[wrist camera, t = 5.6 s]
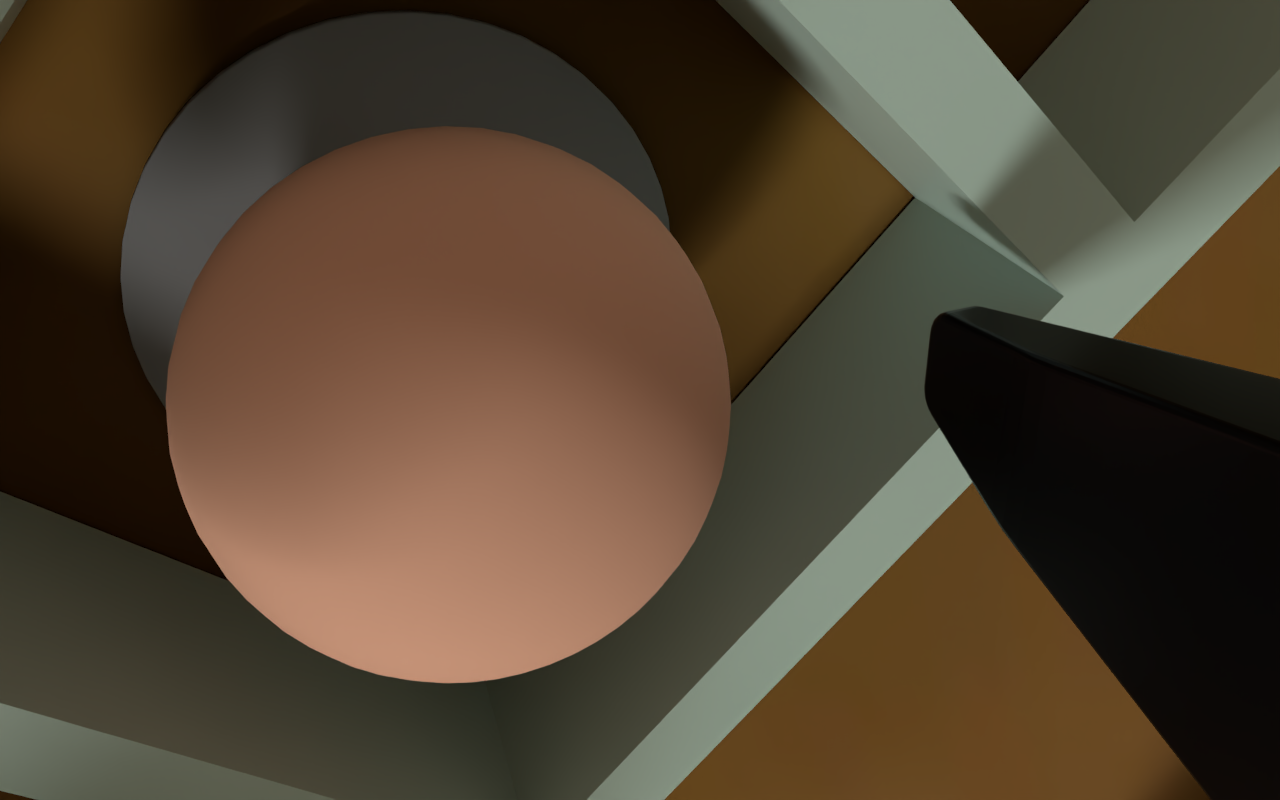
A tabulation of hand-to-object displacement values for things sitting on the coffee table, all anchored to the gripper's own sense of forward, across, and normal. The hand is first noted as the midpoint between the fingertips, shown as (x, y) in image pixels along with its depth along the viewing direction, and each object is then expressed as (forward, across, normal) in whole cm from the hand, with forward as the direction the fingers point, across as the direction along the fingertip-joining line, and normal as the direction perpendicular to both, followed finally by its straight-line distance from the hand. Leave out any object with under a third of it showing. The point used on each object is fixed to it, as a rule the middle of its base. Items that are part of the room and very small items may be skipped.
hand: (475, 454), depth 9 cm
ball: (+3, 0, 0) cm, 3 cm away
